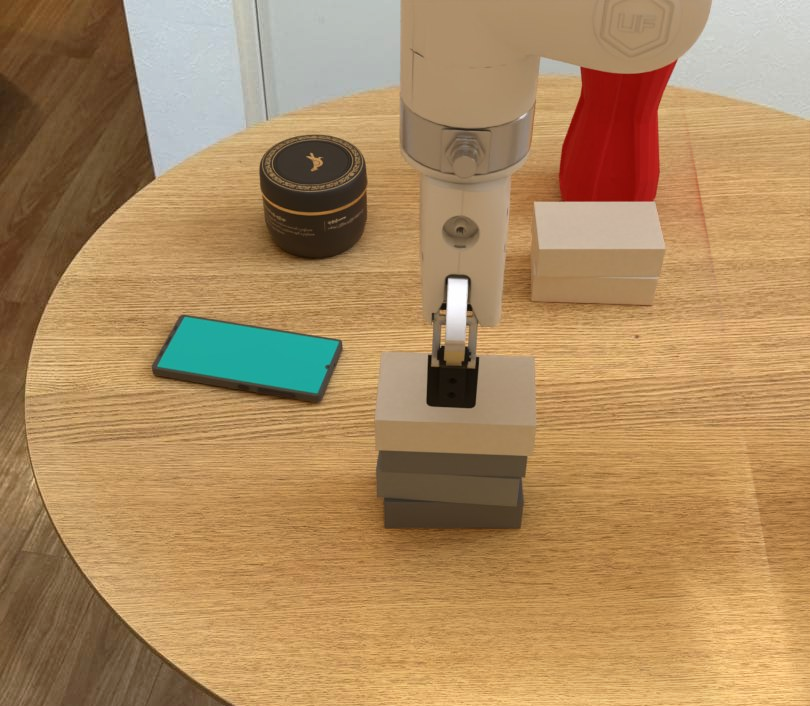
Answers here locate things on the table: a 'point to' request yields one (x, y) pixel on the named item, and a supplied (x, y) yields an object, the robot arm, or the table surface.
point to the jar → (314, 195)
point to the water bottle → (614, 138)
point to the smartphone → (248, 358)
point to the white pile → (596, 252)
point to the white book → (457, 427)
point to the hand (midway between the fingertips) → (453, 354)
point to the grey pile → (450, 489)
